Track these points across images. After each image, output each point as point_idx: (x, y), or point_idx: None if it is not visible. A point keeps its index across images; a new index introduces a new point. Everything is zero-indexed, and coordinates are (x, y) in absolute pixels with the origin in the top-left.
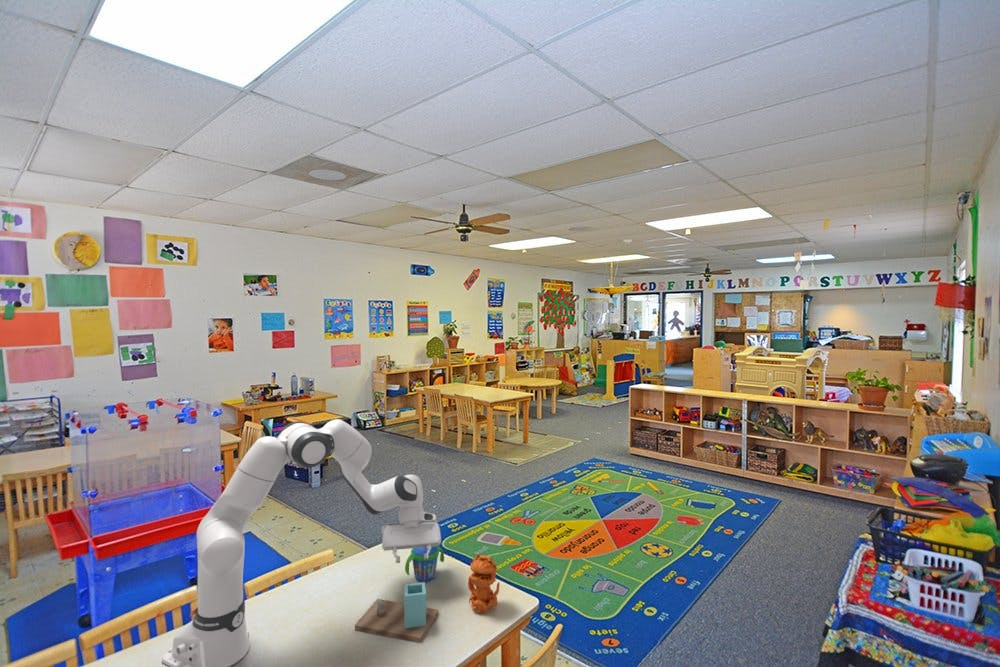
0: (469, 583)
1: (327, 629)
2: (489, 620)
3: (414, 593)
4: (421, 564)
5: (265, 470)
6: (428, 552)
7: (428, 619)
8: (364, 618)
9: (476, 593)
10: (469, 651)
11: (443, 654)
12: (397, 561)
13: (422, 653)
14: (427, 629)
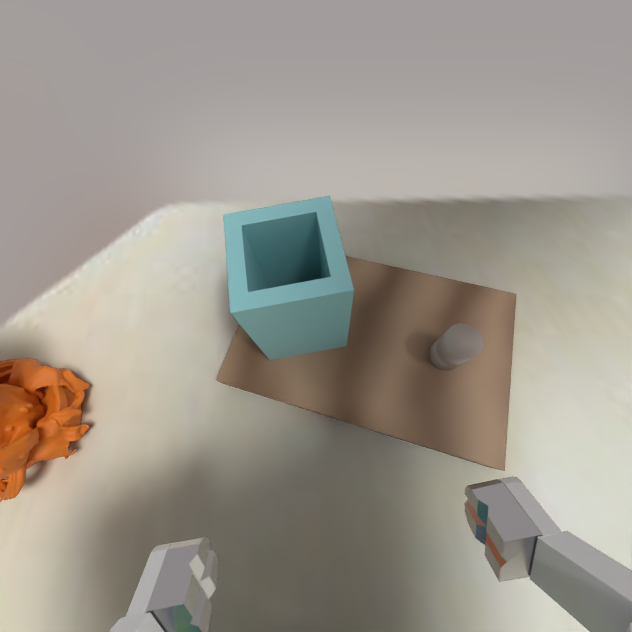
0: (5, 456)
1: (608, 305)
2: (52, 344)
3: (282, 216)
4: None
5: None
6: (117, 628)
7: None
8: (498, 329)
9: (14, 402)
10: (147, 224)
11: (215, 214)
12: (494, 480)
13: None
14: None
